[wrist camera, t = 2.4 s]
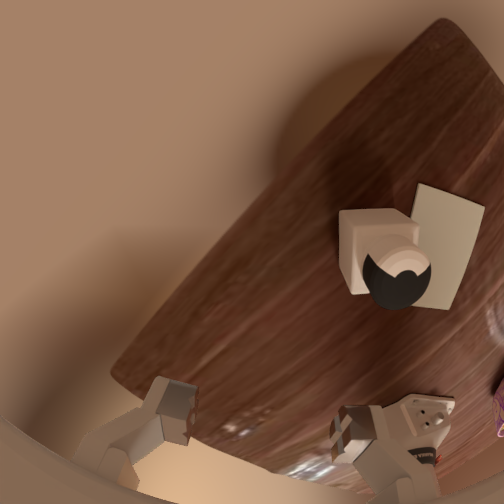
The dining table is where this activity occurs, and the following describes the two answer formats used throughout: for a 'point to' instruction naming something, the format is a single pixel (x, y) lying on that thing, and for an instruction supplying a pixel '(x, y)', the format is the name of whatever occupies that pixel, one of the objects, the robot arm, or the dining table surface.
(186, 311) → the dining table surface
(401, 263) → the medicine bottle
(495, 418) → the bowl of food
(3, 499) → the robot arm
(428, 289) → the mat
